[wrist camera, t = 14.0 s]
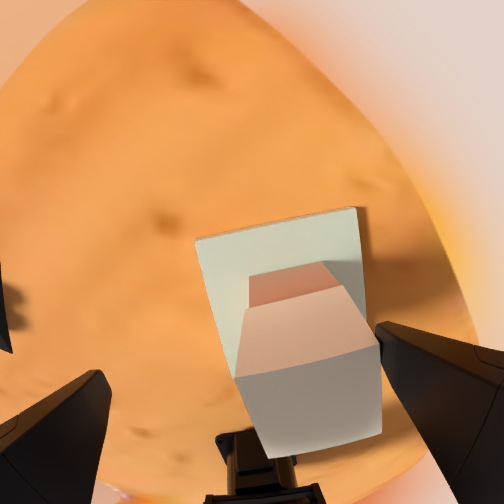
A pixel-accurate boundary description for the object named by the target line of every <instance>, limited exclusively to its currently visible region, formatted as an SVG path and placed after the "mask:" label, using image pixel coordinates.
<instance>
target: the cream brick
mask: <svg viewBox="0 0 504 504" xmlns="http://www.w3.org/2000/svg"><path fill="white" fill-rule="evenodd" d="M234 379H235V381H236V384H237V386H238V389H239V391H240V394H241V396H242V399H243V401H244V404H245V406H246V408H247V411H248V413H249V416H250V418H251V420H252V423H253V425H254V427H255V430H256V432H257V434H258V437H259V439H260V441H261V443H262V446H263V448H264V450H265V452H266V455H267V457H268V459H271V458H278V457H284V456H290V455H296V454H302V453H307V452H312V451H317V450H321V449H326V448H330V447H335V446H339V445H343V444H347V443H350V442H354V441H358V440H361V439H365V438H368V437H371V436H375V435H378V434H381V433H382V383H381V361H380V346H379V342H378V340H377V339H376V337H375V335H374V334H373V332H372V331H371V329H370V327H369V326H368V324H367V322H366V321H365V319H364V318H363V316H362V314H361V313H360V311H359V310H358V308H357V306H356V305H355V303H354V302H353V300H352V299H351V297H350V295H349V294H348V292H347V291H346V289H345V288H344V286H343V285H341V286H337V287H333V288H329V289H326V290H322V291H318V292H314V293H310V294H306V295H302V296H298V297H294V298H290V299H286V300H282V301H277V302H273V303H269V304H265V305H260V306H256V307H252V308H247V309H245V311H244V317H243V324H242V330H241V336H240V343H239V349H238V356H237V362H236V368H235V375H234Z"/></svg>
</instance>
